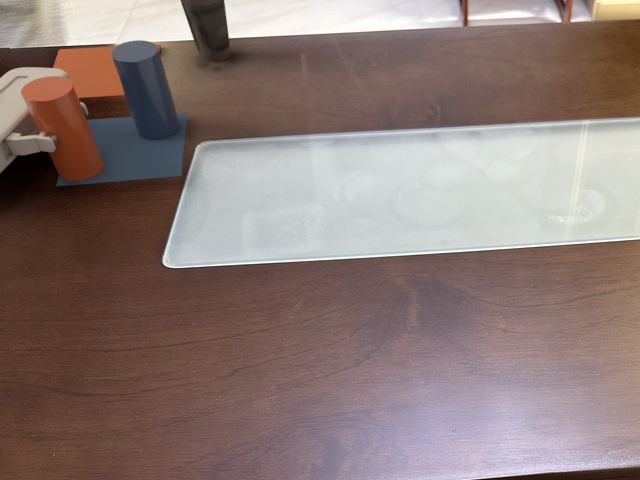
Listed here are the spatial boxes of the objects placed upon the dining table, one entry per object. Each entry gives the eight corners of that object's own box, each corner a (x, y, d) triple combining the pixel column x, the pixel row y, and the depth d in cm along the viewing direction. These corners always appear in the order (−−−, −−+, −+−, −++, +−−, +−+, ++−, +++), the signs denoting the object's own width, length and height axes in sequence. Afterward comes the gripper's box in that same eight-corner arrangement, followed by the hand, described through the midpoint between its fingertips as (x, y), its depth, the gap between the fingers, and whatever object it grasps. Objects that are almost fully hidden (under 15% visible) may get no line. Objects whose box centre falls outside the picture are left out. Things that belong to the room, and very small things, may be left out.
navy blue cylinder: (135, 141, 97) (108, 63, 88) (139, 118, 100) (113, 41, 92) (179, 138, 97) (156, 60, 89) (181, 115, 101) (159, 38, 93)
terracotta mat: (43, 103, 103) (42, 100, 102) (60, 52, 112) (58, 49, 112) (154, 96, 105) (153, 93, 105) (161, 47, 115) (160, 43, 114)
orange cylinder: (54, 182, 90) (16, 102, 82) (61, 157, 94) (25, 77, 85) (101, 179, 91) (69, 99, 83) (106, 153, 94) (76, 74, 86)
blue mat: (57, 190, 90) (55, 186, 90) (75, 124, 100) (73, 120, 99) (182, 179, 92) (181, 175, 92) (188, 116, 102) (186, 112, 102)
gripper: (20, 94, 98) (118, 106, 97) (-76, 183, 84) (36, 198, 83) (-1, 49, 93) (102, 61, 92) (-106, 136, 80) (12, 151, 79)
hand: (70, 127), depth 88 cm, fingers closed on orange cylinder, 5 cm apart
